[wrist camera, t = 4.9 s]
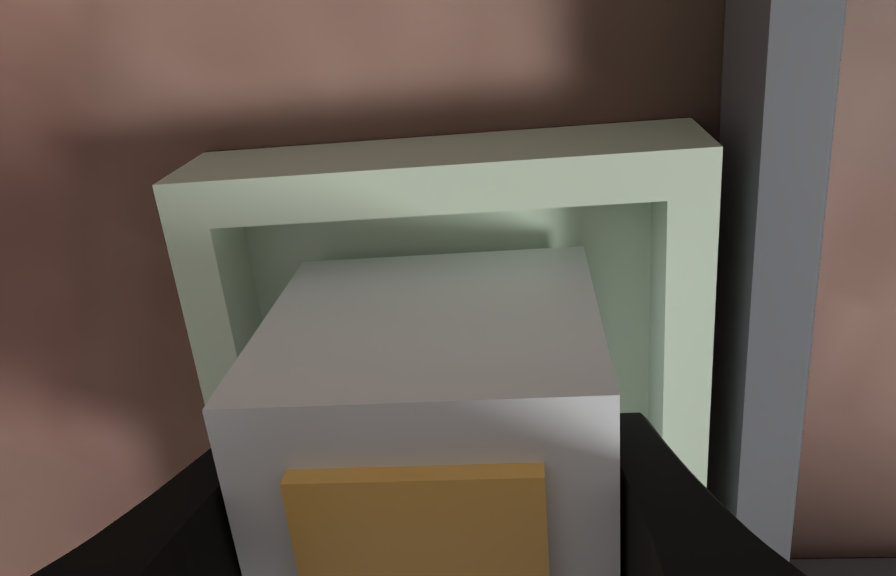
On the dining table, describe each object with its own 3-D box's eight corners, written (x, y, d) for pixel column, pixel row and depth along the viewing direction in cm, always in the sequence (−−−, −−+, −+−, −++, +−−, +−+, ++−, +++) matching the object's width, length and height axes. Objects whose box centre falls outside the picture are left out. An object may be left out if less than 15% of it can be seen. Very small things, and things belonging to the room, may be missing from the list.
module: (588, 483, 15) (622, 724, 11) (341, 489, 16) (267, 722, 11) (583, 246, 14) (623, 409, 9) (302, 261, 14) (193, 423, 9)
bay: (677, 525, 17) (700, 604, 15) (283, 532, 18) (253, 608, 16) (691, 117, 14) (722, 146, 12) (203, 152, 15) (152, 185, 13)
